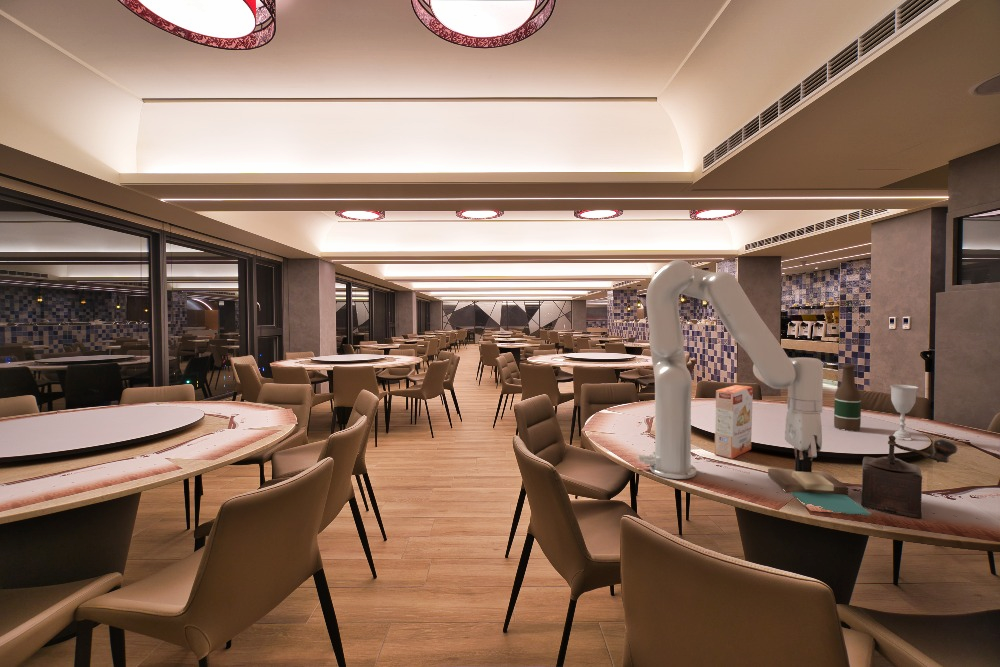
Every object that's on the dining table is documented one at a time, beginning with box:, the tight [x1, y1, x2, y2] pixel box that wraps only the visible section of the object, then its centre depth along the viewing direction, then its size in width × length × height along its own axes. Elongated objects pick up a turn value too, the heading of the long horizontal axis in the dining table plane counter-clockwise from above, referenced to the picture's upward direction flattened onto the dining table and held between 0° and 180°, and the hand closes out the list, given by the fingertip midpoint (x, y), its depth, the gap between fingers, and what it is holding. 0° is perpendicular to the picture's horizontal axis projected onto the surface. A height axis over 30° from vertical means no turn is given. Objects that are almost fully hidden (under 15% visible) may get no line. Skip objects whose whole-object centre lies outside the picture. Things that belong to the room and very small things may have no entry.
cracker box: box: [714, 384, 754, 460], centre depth 141 cm, size 14×6×21 cm, turn 129°
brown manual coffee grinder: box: [860, 434, 958, 519], centre depth 101 cm, size 16×11×18 cm
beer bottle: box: [833, 363, 862, 431], centre depth 164 cm, size 8×8×24 cm
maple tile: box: [792, 471, 834, 491], centre depth 112 cm, size 6×8×2 cm
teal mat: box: [790, 492, 872, 516], centre depth 105 cm, size 12×10×1 cm
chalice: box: [889, 384, 919, 438], centre depth 151 cm, size 7×7×18 cm
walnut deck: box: [767, 468, 850, 497], centre depth 115 cm, size 14×11×2 cm
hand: (803, 473), depth 117 cm, fingers closed
